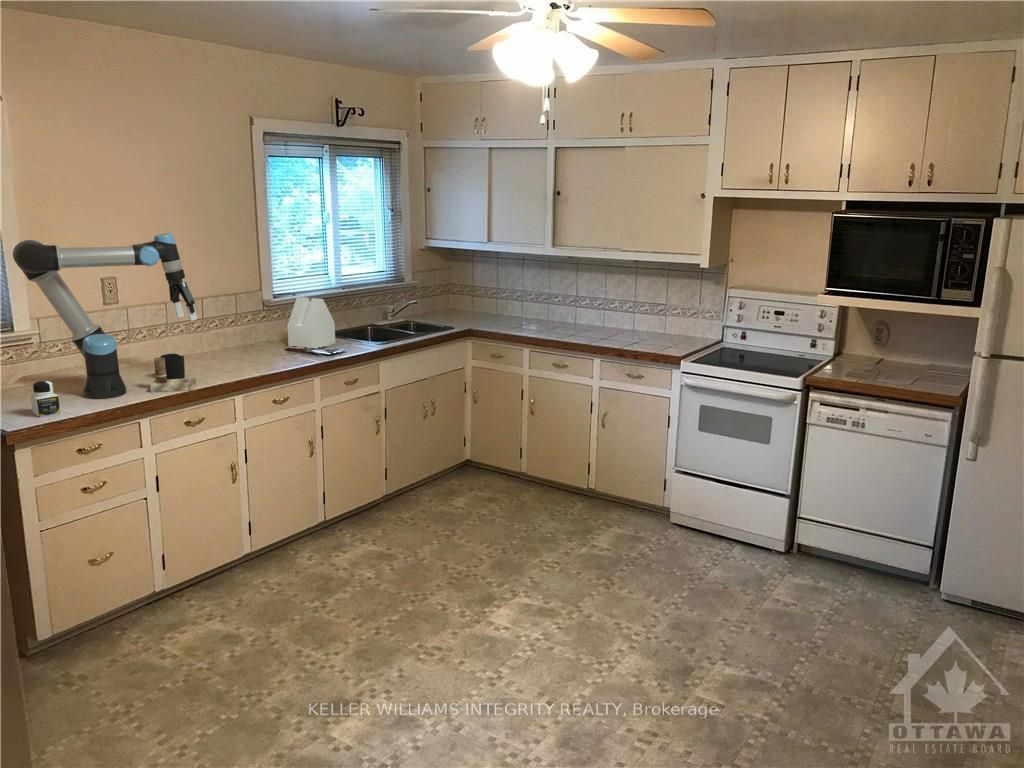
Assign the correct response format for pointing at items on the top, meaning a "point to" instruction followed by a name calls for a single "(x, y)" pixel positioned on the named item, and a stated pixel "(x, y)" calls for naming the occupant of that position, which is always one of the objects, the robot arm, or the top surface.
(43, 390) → the medicine bottle
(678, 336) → the top surface
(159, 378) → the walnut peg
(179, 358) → the pen holder
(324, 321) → the white notched tapered block
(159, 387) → the mottled green flat block
